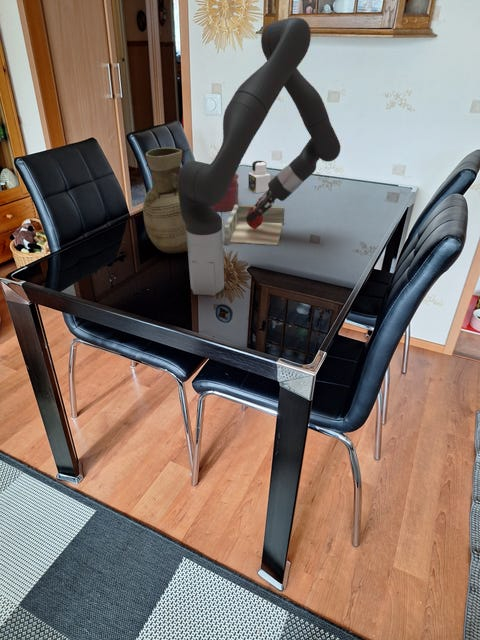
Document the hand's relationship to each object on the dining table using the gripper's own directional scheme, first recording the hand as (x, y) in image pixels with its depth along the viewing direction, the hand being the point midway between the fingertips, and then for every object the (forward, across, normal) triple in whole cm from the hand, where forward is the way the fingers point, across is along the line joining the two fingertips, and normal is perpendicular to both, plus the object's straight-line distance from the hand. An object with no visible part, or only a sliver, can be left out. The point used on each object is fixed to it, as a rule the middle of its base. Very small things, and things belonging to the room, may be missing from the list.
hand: (249, 216), depth 146 cm
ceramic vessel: (+20, +13, -11) cm, 27 cm away
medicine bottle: (+6, -48, +3) cm, 48 cm away
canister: (+15, -26, -6) cm, 30 cm away
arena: (+3, -1, +6) cm, 7 cm away
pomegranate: (+2, 0, +4) cm, 5 cm away
